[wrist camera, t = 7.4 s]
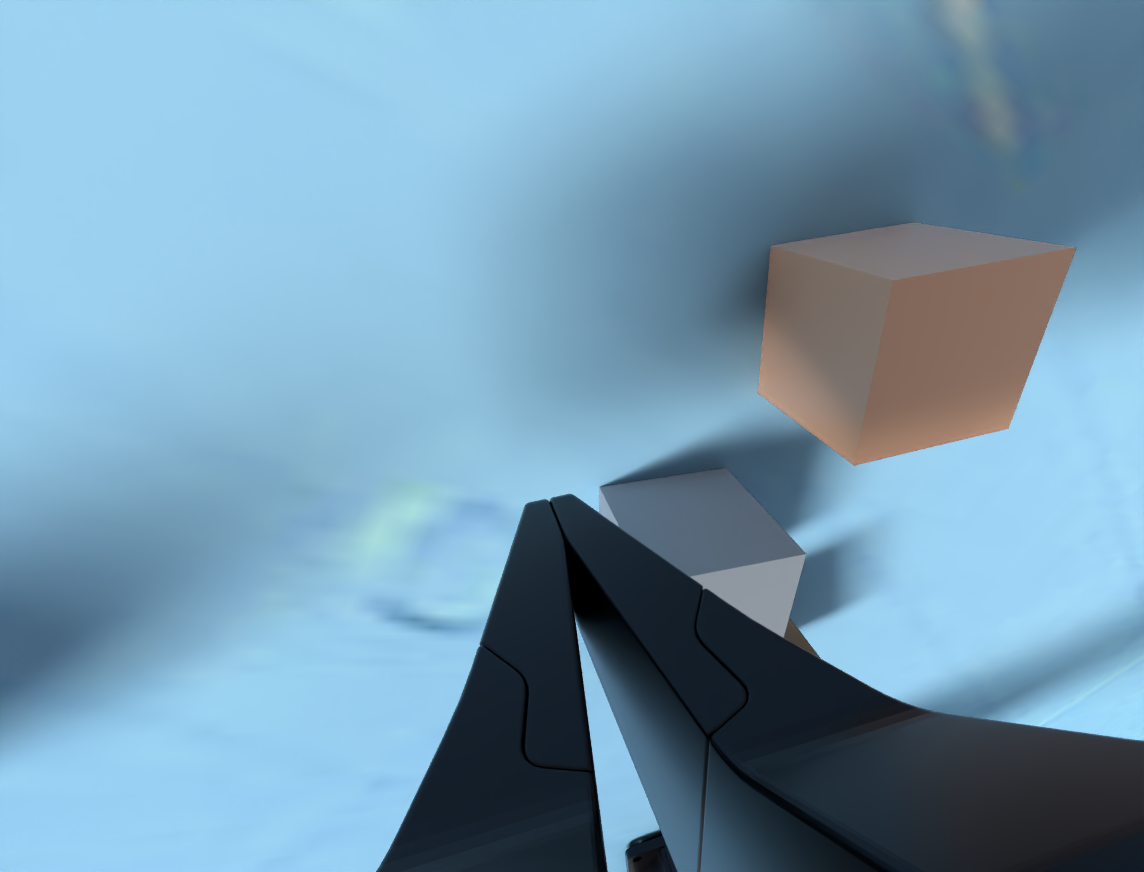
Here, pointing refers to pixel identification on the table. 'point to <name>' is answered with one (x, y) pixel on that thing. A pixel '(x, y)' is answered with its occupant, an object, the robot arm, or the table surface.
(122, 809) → the table surface
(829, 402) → the terracotta block
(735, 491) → the slate block
